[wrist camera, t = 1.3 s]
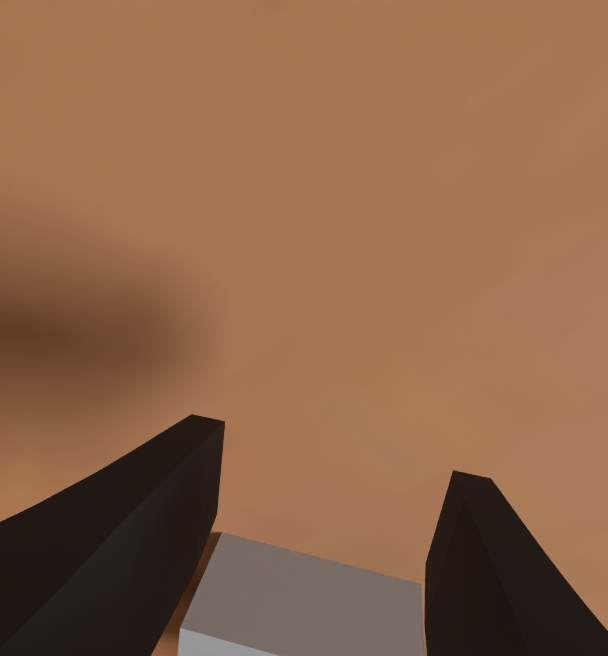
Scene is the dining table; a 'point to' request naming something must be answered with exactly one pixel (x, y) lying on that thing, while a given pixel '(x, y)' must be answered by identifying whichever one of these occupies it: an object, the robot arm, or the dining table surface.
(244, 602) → the block
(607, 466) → the dining table surface
